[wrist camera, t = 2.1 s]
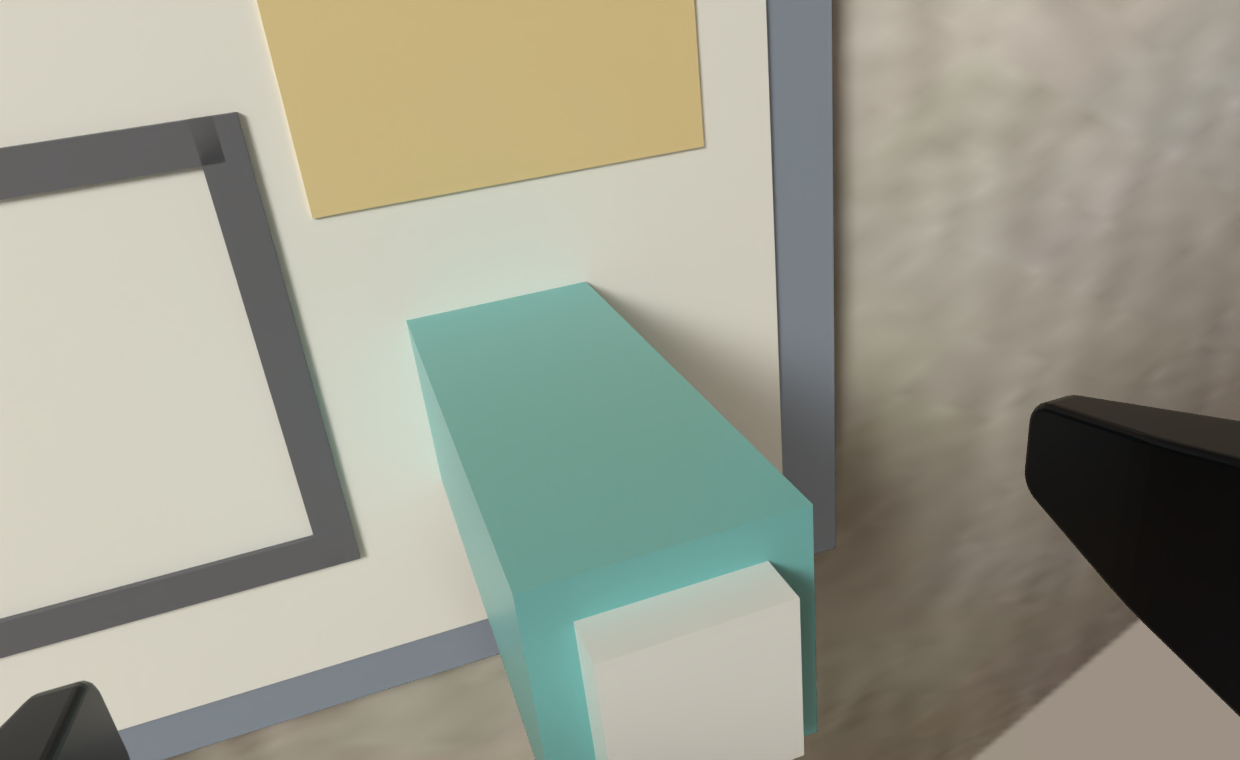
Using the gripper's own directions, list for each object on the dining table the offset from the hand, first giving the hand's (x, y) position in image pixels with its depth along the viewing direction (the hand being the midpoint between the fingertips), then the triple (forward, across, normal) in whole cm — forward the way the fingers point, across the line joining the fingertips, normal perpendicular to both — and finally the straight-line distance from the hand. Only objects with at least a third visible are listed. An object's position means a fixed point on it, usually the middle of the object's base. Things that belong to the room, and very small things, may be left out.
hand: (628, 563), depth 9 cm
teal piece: (+5, 0, 0) cm, 5 cm away
